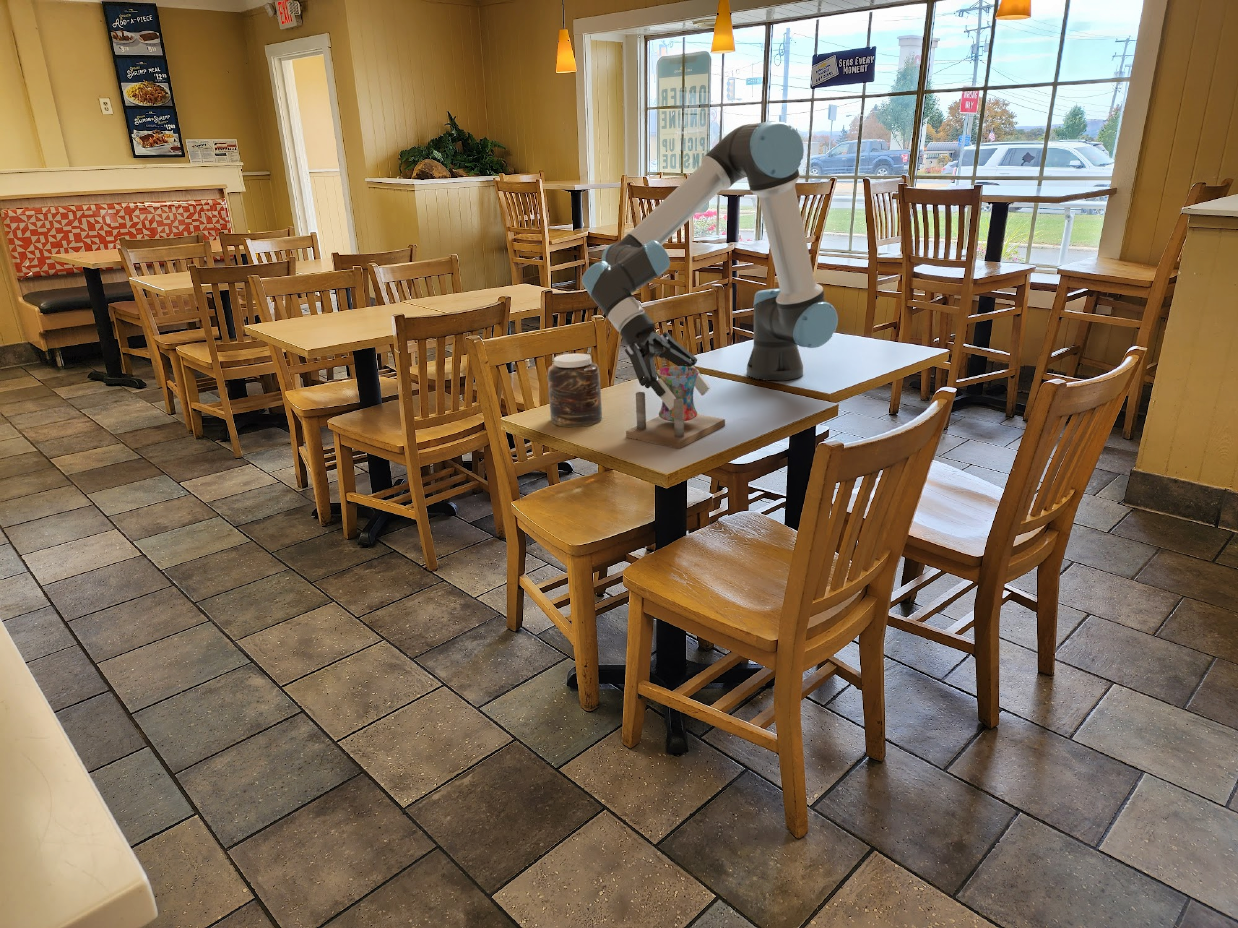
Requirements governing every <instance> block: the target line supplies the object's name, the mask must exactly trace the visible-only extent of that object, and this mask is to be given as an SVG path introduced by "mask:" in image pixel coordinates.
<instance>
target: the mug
mask: <svg viewBox="0 0 1238 928" xmlns="http://www.w3.org/2000/svg"><path fill="white" fill-rule="evenodd" d="M699 372H700V370H699V369H698V368H697V367H696V368H693V367H686V366H677V365H674V366H666V367H662V368H659V369H656V374H657V380H658V379H660V378H661V379H662V380H663V382H664V383H665V384H666V386H667V387H668V388H669V390H670V391H671V392H672V393H673V395H674V396H675V397H676V399H678V398H680V399H683V408H684V421H688V420H691V419H694V418H695V417H696V416H697V414H698V412H697V408H696V407H695V402H694V391H695V382H696V379H697V376H698V374H699ZM659 416H660V418H662V419H664V420H667V421H672V422H674V408H673V409H671V410H669V408H668V407H667V406H666V405H665V403H664V402H663V401H662V402H661V408H660V410H659V412H658V417H659Z"/></svg>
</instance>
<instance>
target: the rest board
mask: <svg viewBox="0 0 1238 928" xmlns="http://www.w3.org/2000/svg"><path fill="white" fill-rule="evenodd" d="M635 406H636V407H635V409H636V410H635V411H636V413H635V414H636V425H635V426H634V427H632V428H629V429H627V430H625V435H626V436H625V437H626V438H628V439H631V438H632V439H633V440H636V439H638V440H637V441H642V442H646V443H652V444H655V445H661V446H665V447H669V448H670V447H671V448H673V449H674V448H675V449H681V448H683V447H685V446H687V445H689V444H691V443H693V442H696V441H697V440H699V439H701V438H703V437H705V436H707V435H709V434H712V433H713V432H715V431H716V430H719V429H721V428H723V427H725V426H726V419H725V418H720V417H716V416H711V415H710V416H709V415H705V414H699V413H697V416H696V417H695V418H694V419H691V420H688V421H684V408H683V399H680V398H678V399H674V422H672V421H667V420H664V419H662V418H660V416H659V415H658V416H657V417H654V418H652V419H649V420H647V415H646V413H647V412H646V409H647V408H646V392H644V391H637V392H636V393H635Z"/></svg>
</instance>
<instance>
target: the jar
mask: <svg viewBox="0 0 1238 928" xmlns="http://www.w3.org/2000/svg"><path fill="white" fill-rule="evenodd" d="M591 356H592V355H590V354H587V353H565V354H559V355H557V356H555V357H554V358H553V360H554V361H553V364H552V365H550V366H549V367H548V369H547V383H548V384H547V385H548V399H549V401H548V402H549V409H550V410H549V411H550V422H551V423H552V424H553V425H555V426H558V427H563V428H578V427H586V426H591V425H595V424H598V423H599V422H601V421H602V420H603V410H602V409H603V408H602V392H601V378H600V370H599V369H600V368H599V365H598V364H597V363H595V362H593V361H592V357H591Z"/></svg>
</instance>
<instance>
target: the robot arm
mask: <svg viewBox="0 0 1238 928" xmlns="http://www.w3.org/2000/svg"><path fill="white" fill-rule="evenodd" d="M804 151H805V149H804V143H803V140H802V137H801V135H800V134H799V132H798V131H797V129H796V128H795V127H793V126H791V125H790V124H788V123H786V122H782V121H774V120H771V121H770V120H769V121H764V122H757V123H748V124H743V125H740V126H738V127H736V128H735V129H733V130H732V131H730V132H729V133H728V134H726V135H725V136H724V137H723V138H722V139H721V140H720V141H719V142H717V143H716V145H715V146H714V147H712V148H711V149H710V150H709V151H708V152H707V153H706V154H705V155H703V157H702V158H701V163H700V164H701V165H700V166H698V167H697V169H695V170H694V171H693V172H692V173H690V174H689V176H688V177H687V178H686V179H685V180H684V181H683V182H681V183H680V184H679V185H678V186H677V187H676V188H675V189H674V190H673V191H672V192H671V193H670V194H668V196H667V197H666V198H665V199H664V200H663V201H661V202H660V204H658V205H657V206H656V207H655V208H654V209H653V210H652V211H650V213H649V214H648V215H647V216H645V217H644V219H642V220H641V221H640V222H639V223H638V224H637V225H636V226H635V227H633V229H632V230H631V231H630V232H628V233H627V234H626V235H625V236H623V238H622V239H621V240H620V241H619V242H615V243H612V244H609V245H608V246H606V247H605V249H604V250H603V252H602V255H601V260H600V261H598V262H596V263H594V264H592V265H590V266H589V267H588V268H587V269H586V270H585V272H584V273H583V275H582V278H581V284H582V286H583V287H584V288H585V290H586V291H587V294H589V296H590V299H592V300H593V301H594V303H595V304H596V305H597V306H598V307H599V310H601V312H602V313H603V314H604V316H605V317H606V318H607V319H608V320H609V321H610V323H611V324H612V326H613V328H614V329H615V330H616V331H617V332H618V333H620V336H621V338H622V340H624V342H625V343H626V345H628V346H626V347H625V349H624V352H625V353H626V355H627V356H628V358H629V359H630V363H631V365H632V368H633V370H634V372H635V375H636V378H637V380H638V382H639V385H640V386H642V387H644V388H645V389H650V388H651V389H652V390H653V392H654V393H655V394H656V395H657V397H659V398H660V399H661V400H662V401H663V402H664V403H665V405H666V406H667V407H668V408H669V410H671V409H673V408H674V399H676V397H675V396H674V395H673V393H672V392H671V391H670V390H669V388H668V387H667V386H666V384H665V383H664V382H663V380H662V379H661V378H660V379H658V377H657V374H656V371H657V369H656V364H655V358H660V359H665V360H666V361H668V362H671V363H672V364H674V366H686V367H693V368H696V369H697V367H696V364H697V362H698V358H697V357H696V356H694V355H693V354H692V353H691V352H690V351H689V350H688V349H686V348H684V347H683V345H681V344H680V343H679V342H678V341H676V340H675V339H674V338H673V337H672V336H671V335H670V333H669V332H668V331H663V333H662V334H661V335H660V334H658V333H657V332H656V330H655V329H656V324H655V322H654V321H653V320H652V319H651V317H650V316H649V315H648V313H646V312H645V309H644V308H643V306H641V304H640V303H639V302H638V300H637V299H636V298H635V296H634V295H633V293H635V292H636V291H638V290H640V289H642V287H644V286H646V285H647V284H649V283H650V282H652V281H653V280H655V279H657V278H658V277H660V276H661V275H662V274H663V273H665V272H666V271H667V270H669V268H670V266H671V260H670V257H669V255H668V252H667V251H666V249H665V247H663V245H664V244H665V243H666V242H667V241H668V240H669V239H670V238H672V237H673V235H674V234H676V233H677V232H678V231H679V230H680V229H681V228H682V227H683V226H684V225H685V224H686V223H687V222H688V221H690V220H691V218H692V217H694V216H695V215H696V214H697V213H698V212H699V211H701V209H702V208H704V207H705V205H706V204H707V203H709V202H710V201H711V200H712V199H713V198H714V197H715V196H716V195H717V194H718V193H720V191H722V190H729V189H730V188H731V187H732V186H733V185H734V184H736V183H737V182H738V181H740V180H742V179H744V178H747V183H748V187H749V191H750V192H751V193H752V194H754V195H756V196H757V197H758V200H759V204H760V209H761V214H762V219H763V223H764V226H765V231H766V232H765V233H766V235H767V240H768V244H769V249H770V252H771V257H772V261H773V266H774V269H775V273H776V279H777V282H778V288H771V289H762V290H758V291H756V293H755V294H754V299H753V305H752V306H753V347H752V350H751V353H750V355H749V359H748V360H747V361H748V362H747V365H746V376H748V377H749V376H750V377H749V378H751V377H753V378H752V379H754V378H755V379H754V380H759V379H765V380H764V381H768V380H782V381H790V380H796V379H798V378H801V377H803V375H804V363H803V361H802V357H801V354H800V350H799V347H801V348H809V349H815V348H820V347H822V346H824V345H825V344H827V343H828V342H829V341H830V340H831V339H832V337H833V335H834V333H836V330H837V327H838V322H839V317H838V312H837V310H836V308H835V307H834V305H832V304H831V303H830V302H827V300H826V297H825V291H824V287H823V286H822V285H821V284H819V283H817V282H816V279H815V276H814V275H815V274H814V270H813V266H812V260H811V257H810V256H811V255H810V251H809V246H808V243H807V242H808V241H807V237H806V232H805V227H804V224H803V218H802V214H801V208H800V205H799V204H800V203H799V200H798V195H797V190H796V183H797V182H798V180H799V179H800V177H801V175H800V172H799V168H800V166H801V163H802V160H803V159H804V153H805V152H804ZM798 346H799V347H798ZM711 388H712V387H711V386H710V384H708V382H707V380H705V378H704V377H703V375H702V374H701V373H700V371H699V374H698V376H697V379H696V382H695V386H694V389H696V390H697V391H698V393H699V394H700V395H701V396H704V395H705V394H707V393H708V391H709V390H710V389H711Z"/></svg>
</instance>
